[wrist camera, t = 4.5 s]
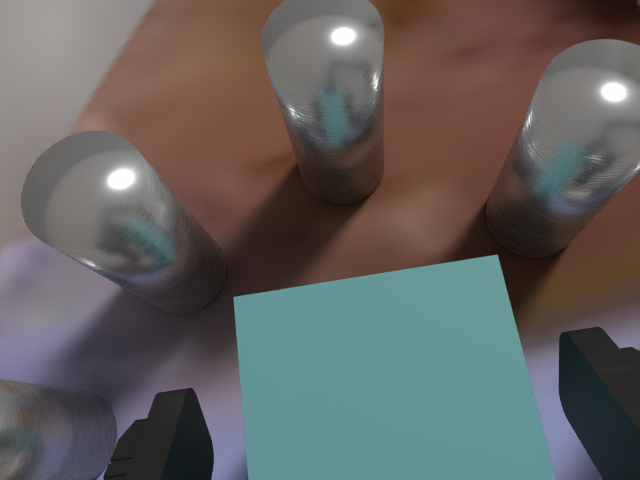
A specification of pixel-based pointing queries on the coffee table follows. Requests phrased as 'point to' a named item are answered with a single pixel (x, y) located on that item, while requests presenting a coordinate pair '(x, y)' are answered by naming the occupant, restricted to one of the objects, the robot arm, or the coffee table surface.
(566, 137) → the posts
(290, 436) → the teal block
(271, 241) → the coffee table surface
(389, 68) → the coffee table surface
